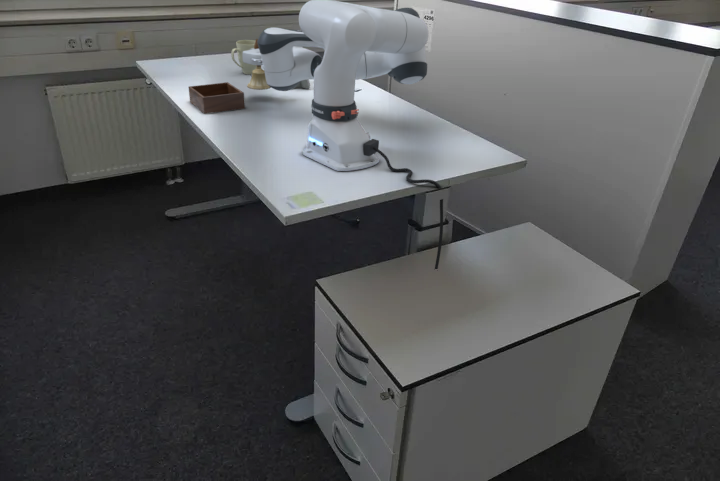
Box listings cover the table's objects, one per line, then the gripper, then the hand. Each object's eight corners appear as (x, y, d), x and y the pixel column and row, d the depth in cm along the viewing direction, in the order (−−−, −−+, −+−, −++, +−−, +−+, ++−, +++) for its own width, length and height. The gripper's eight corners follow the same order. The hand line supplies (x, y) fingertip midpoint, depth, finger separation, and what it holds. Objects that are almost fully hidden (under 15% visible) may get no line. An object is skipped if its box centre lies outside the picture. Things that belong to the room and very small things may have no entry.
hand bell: (276, 86, 196) (275, 39, 188) (259, 91, 190) (257, 42, 182) (258, 82, 200) (256, 35, 192) (242, 86, 194) (239, 38, 186)
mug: (238, 69, 230) (236, 39, 224) (262, 70, 230) (261, 40, 224) (232, 76, 221) (230, 44, 215) (257, 77, 221) (255, 46, 214)
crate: (244, 108, 187) (243, 92, 184) (204, 113, 180) (203, 97, 178) (228, 97, 197) (227, 82, 194) (190, 102, 190) (188, 86, 187)
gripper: (259, 72, 176) (231, 64, 184) (306, 63, 190) (278, 55, 198) (258, 51, 173) (230, 44, 181) (305, 43, 187) (278, 37, 194)
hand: (256, 50), depth 189 cm, fingers closed on hand bell, 2 cm apart
